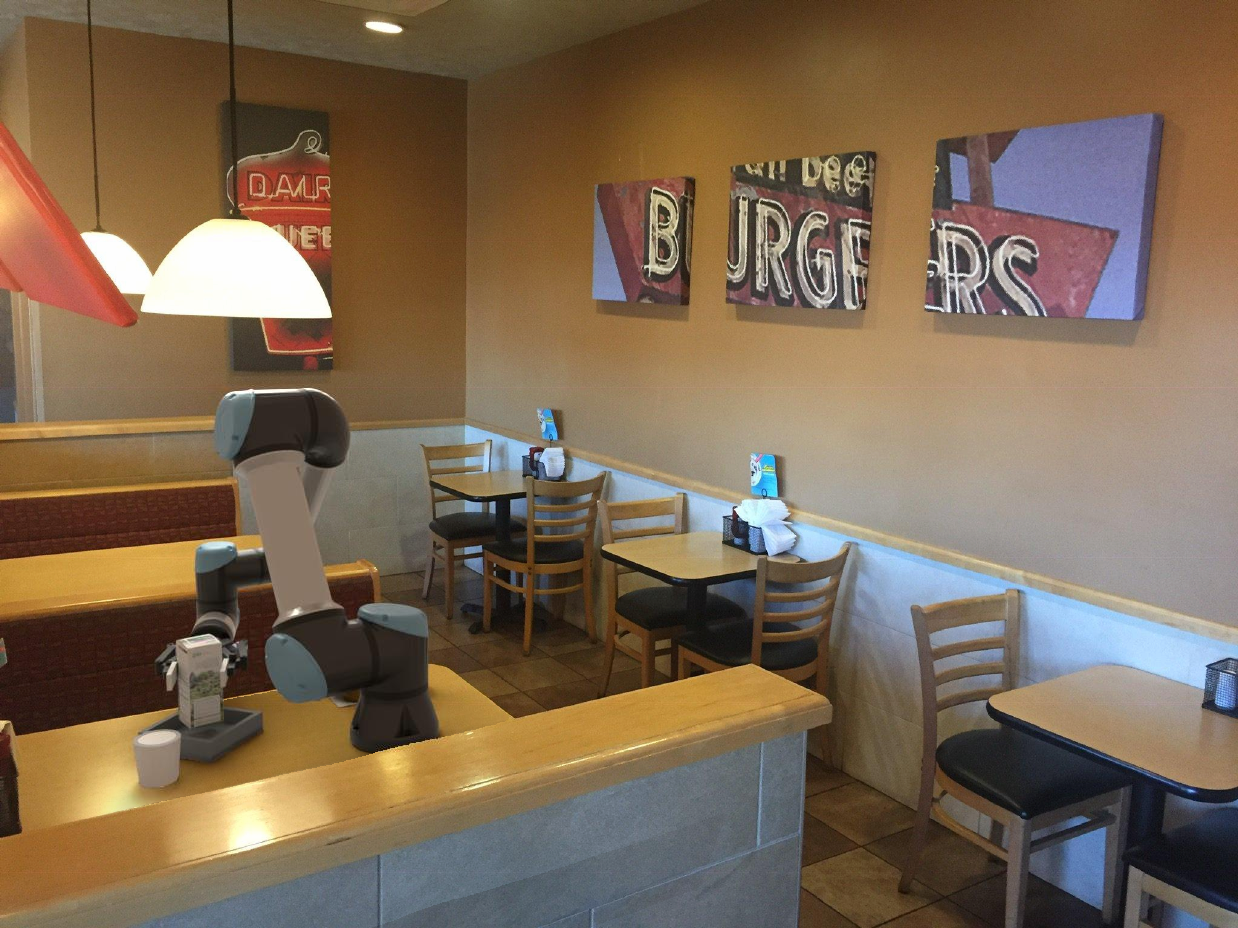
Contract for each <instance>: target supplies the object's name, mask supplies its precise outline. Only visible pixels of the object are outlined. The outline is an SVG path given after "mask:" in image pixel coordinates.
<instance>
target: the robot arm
mask: <svg viewBox="0 0 1238 928" xmlns="http://www.w3.org/2000/svg"><path fill="white" fill-rule="evenodd" d="M213 441H214V447H215V451H216V453H217V455H218V457H219V458H220V459H221V460H223V461H226V462H231V461H232V463H233V467H234V472H235V475H237V476H239V477H241V478H242V479H244V480H246V481H247V485H248V490H249V493H250V497H251V503H252V506H253V510H254V514H255V518H256V522H257V527H258V531H259V532H258V533H259V535H260V540H261V544H262V546H260V547H254V548H253V547H252V548H247V549H246V548H244V549H237V545H236V544H235V543H234V542H232V541H231V542H230V541H225V540H224V541H222V540H220V541H208V542H204V543H202V544H200V545H198V546H197V548H196V549H195V557H194V575H195V593H196V601H195V605H196V621H195V624H194V626H193V628H192V631H191V632H190V635H189V637H188V638H191V637H196V636H201V635H206V634H210V635H212V636H214V637H215V638H217V639H218V640H219V641H220V642H221V643H222V666H221V670H220V687H223V688H226V686H227V682H228V679H229V677H234V676H235V675H236V672H237V670H239V669H240V670H241V671H247V670H248V668H249V667H248V666H249V665H248V663H249V661H248V660H249V659H248V654H249V647H248V646H249V645H248V643H249V642H248V639H241V640H239V641H236V642H235V643H234V642H233V641H234V639H235V636H236V632H237V629H238V628H239V624H240V623H241V622H240V621H241V612H240V608H239V604H238V602H239V601H238V598H239V596H238V595H239V594H238V593H239V590H240V589H244V588H251V587H255V586H263V585H269V584H271V585H272V590H273V593H274V598H275V602H276V606H277V607H276V608H277V610H278V617H277V618H276V620H275V621H274V622H273V625H272V627H271V628H272V631H273V634H272V635H271V636H270V637H268V639H267V640H266V643H265V646H264V653H265V657H264V660H265V665H266V670H267V672H268V676H269V678H270V681H271V683H272V684H273V686H274V688H275V689H276V691H277V692H278V694H279V695H280V696H282V697H283V698H284V699H285V700H287V701H288V702H290V703H292V704H297V705H298V704H305V703H310V702H320V701H322V700H324V699H327V698H329V697H331V696H335V695H339V694H343V693H347V692H351V691H355V690H359V689H360V697H359V700H358V704H356V707H355V710H354V713H353V715H352V716H353V717H352V718H351V719H352V720H351V722H350V723H351V724H350V727H349V728H350V729H349V734H350V735H349V737H350V738H349V740H350V742H351V744H352V745H353V746H355V747H356V748H357V749H360V750H362V751H366V752H370V753H375V752H378V751H383V750H387V749H390V748H395V747H398V746H403V745H409V744H410V743H416V742H422V741H425V740H430V739H435V738H436V739H438V737H439V734H440V730H439V729H440V725H439V723H440V722H439V718H438V715H437V712H436V708H435V706H434V704H433V703H434V702H433V700H432V698H431V695H430V692H429V638H430V633H429V627H428V626H429V624H428V617H427V615H426V613H425V612H423V611H422V610H421V609H419V608H417V607H414V606H410V605H406V604H398V603H390V602H388V603H386V602H385V603H384V602H383V603H382V602H379V603H378V602H377V603H376V602H374V603H369V604H368V603H367V604H364V605H362V606H360V607H359V609H358V612H357V616H358V617H357V618H353V619H349V620H348V619H347V615H346V612H345V608H344V606H342V605H340V604H338V603H337V602H335V601H334V600H333V599H332V596H331V591H330V588H329V584H328V579H327V576H326V571H325V567H324V564H323V559H322V556H321V551H320V547H319V543H318V540H317V536H316V531H315V528H314V525H315V522H316V520H317V517H318V515H319V512H320V510H321V507H322V504H323V502H324V499H325V497H326V493H327V492H328V489H329V486H330V483H331V481H332V478H333V475H334V473H335V471H336V469H337V468H339V467H340V466H341V465H343V464H344V462H345V460H346V457H347V455H348V452H349V449H350V445H351V427H350V423H349V419H348V417H347V415H346V413H345V411H344V409H343V408H342V406H341V405H340V404H339V403H338V402H337V400H335V398H333V397H332V396H331V395H329V394H328V393H326V392H323V391H322V390H319V389H316V388H312V387H311V388H307V387H306V388H304V387H303V388H290V389H289V388H288V389H287V388H286V389H282V388H281V389H280V388H279V389H253V388H250V389H247V390H237V391H231V392H228V393H227V394H226V395H223V397H222V398H221V400H220V402H219V404H218V405H217V409H216V413H215V418H214V425H213ZM233 651H234V652H235V653H234V652H233ZM154 671H155V673H154V675H155V676H157V677H159V676H162V680H163V681H165V682H166V691H167V692H169V691H173V688H174V686H175V684H176V681H177V656H176V644H175V643H173V642H171V643H167V645H166V649H165V650H164V651H163V652H162V653H161V654H160V655H159V656H158V657H157V658H156V659H155V661H154Z"/></svg>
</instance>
